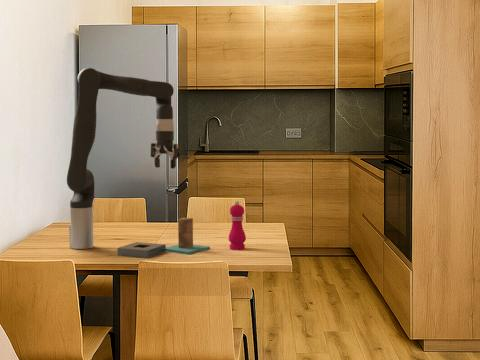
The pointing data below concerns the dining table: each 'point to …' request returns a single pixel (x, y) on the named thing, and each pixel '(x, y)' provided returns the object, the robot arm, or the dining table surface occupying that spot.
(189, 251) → the teal mat
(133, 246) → the socket block
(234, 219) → the pepper mill
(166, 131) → the robot arm
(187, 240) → the walnut peg
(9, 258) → the dining table surface
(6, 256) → the dining table surface
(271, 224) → the dining table surface
